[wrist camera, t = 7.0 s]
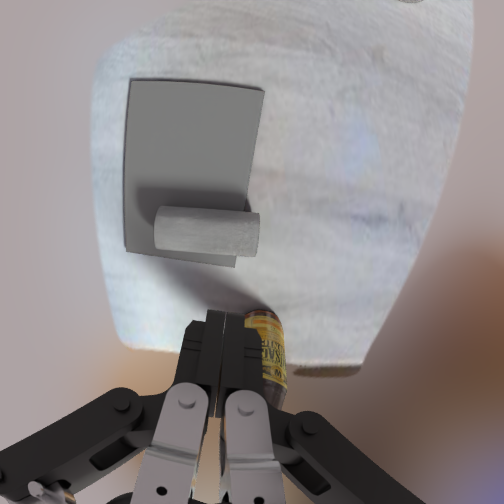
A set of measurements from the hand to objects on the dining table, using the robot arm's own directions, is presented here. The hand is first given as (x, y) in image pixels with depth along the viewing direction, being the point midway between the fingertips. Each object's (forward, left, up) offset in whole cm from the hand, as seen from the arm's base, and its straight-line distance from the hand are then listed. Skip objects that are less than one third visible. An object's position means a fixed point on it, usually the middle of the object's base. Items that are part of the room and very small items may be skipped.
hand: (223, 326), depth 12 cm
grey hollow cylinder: (+5, +3, -18) cm, 19 cm away
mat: (0, -6, -21) cm, 22 cm away
